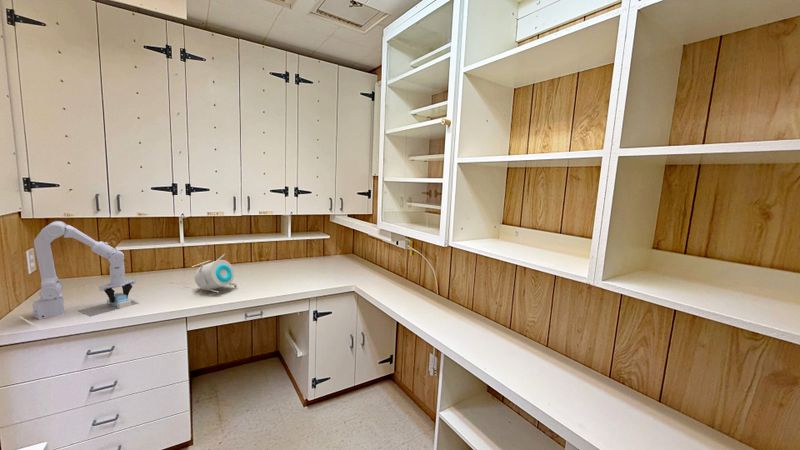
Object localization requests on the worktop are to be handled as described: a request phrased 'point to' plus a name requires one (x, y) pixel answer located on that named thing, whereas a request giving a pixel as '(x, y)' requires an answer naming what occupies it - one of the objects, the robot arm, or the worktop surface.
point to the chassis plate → (106, 307)
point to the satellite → (214, 275)
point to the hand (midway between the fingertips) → (118, 300)
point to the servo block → (119, 298)
